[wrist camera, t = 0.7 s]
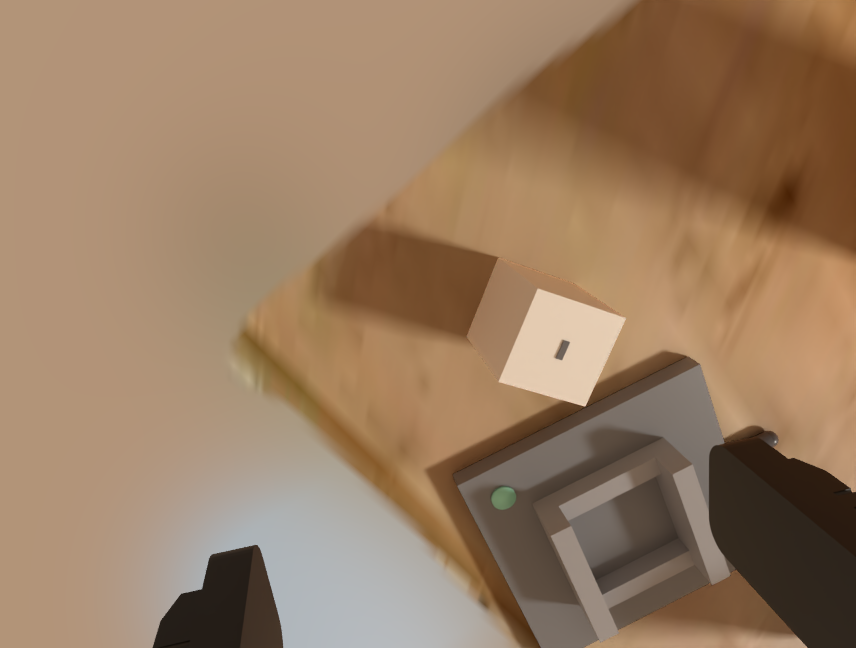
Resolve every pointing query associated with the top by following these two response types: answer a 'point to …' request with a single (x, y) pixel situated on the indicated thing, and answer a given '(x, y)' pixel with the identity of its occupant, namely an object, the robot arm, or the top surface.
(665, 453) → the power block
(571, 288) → the charger block
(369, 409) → the top surface
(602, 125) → the top surface
